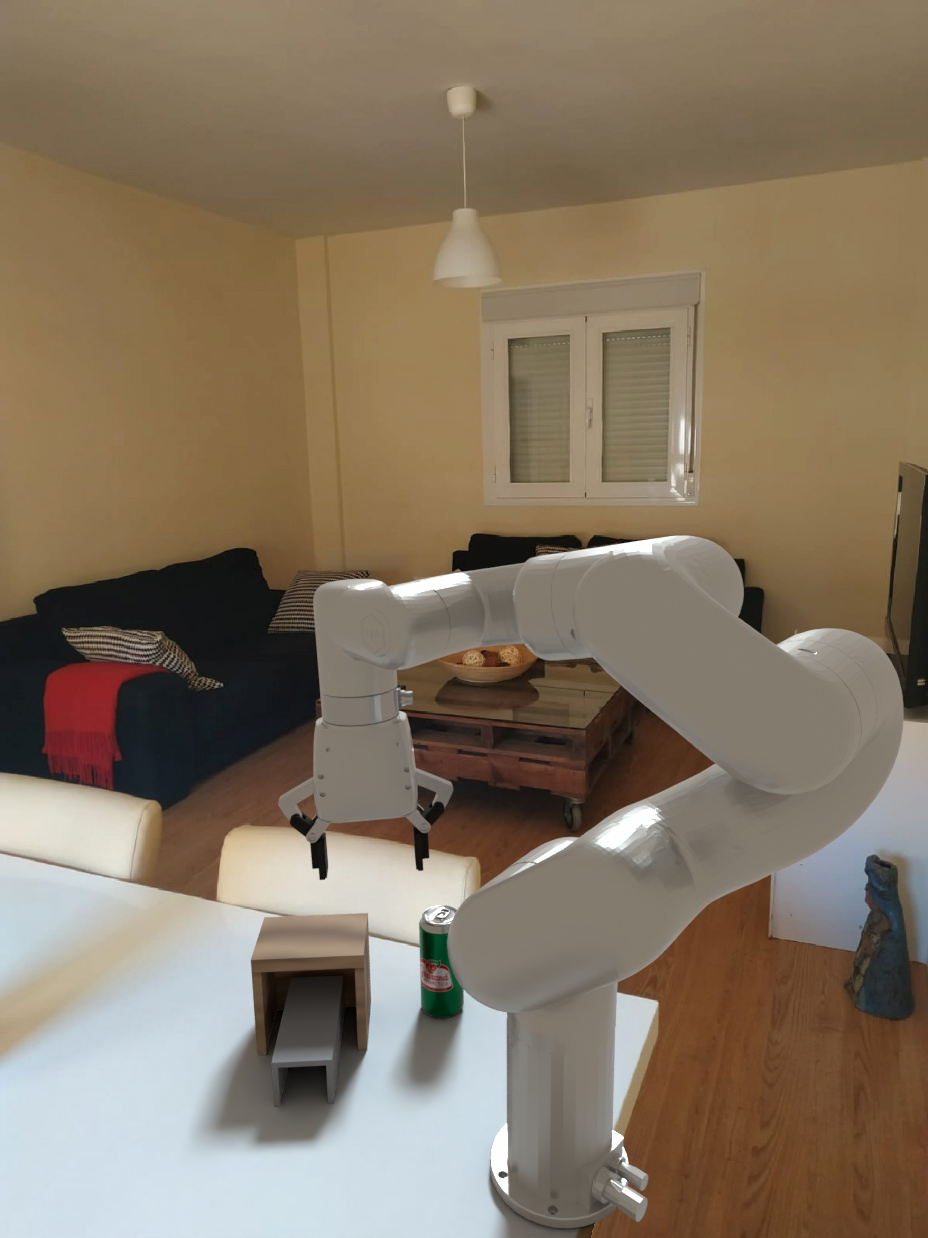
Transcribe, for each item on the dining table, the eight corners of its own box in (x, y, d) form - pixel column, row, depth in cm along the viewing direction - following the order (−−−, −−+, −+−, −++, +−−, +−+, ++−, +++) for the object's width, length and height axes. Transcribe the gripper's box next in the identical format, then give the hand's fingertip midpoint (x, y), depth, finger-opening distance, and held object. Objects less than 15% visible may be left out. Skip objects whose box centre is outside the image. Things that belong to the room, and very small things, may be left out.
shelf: (367, 1049, 95) (363, 955, 92) (257, 1055, 94) (250, 960, 92) (371, 1000, 103) (367, 913, 101) (269, 1005, 102) (264, 917, 100)
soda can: (413, 1013, 101) (410, 919, 98) (434, 989, 105) (432, 899, 103) (450, 1026, 98) (449, 930, 96) (471, 1001, 103) (470, 909, 100)
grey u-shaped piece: (334, 1103, 87) (331, 1060, 86) (274, 1106, 87) (271, 1063, 86) (345, 1013, 101) (343, 975, 100) (293, 1016, 100) (291, 977, 99)
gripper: (445, 690, 89) (453, 846, 91) (275, 702, 87) (289, 861, 90) (451, 709, 81) (460, 878, 84) (265, 724, 80) (281, 895, 82)
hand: (371, 869), depth 87 cm, fingers open, 9 cm apart
